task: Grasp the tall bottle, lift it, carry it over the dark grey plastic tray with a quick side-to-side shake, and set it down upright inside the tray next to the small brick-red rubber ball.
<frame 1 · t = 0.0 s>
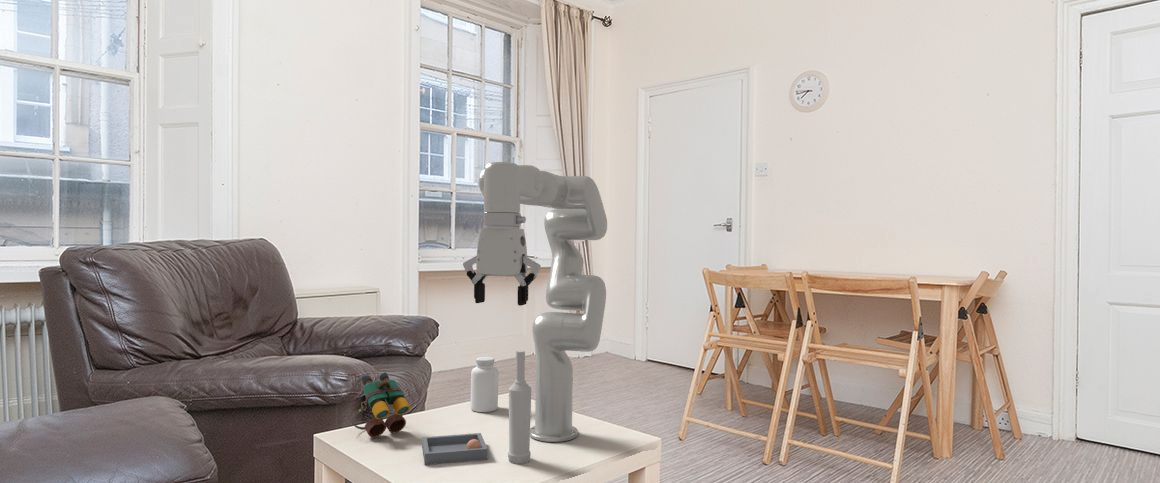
hand: (500, 303, 136), 37 cm above the table, tool pointing down, fingers open, 9 cm apart
bottle: (519, 461, 149), on the table
pill bottle: (484, 409, 191), on the table
ball: (473, 453, 151), point 1 cm above the table, touching tray
tray: (454, 453, 153), on the table
binoculars: (383, 434, 167), on the table
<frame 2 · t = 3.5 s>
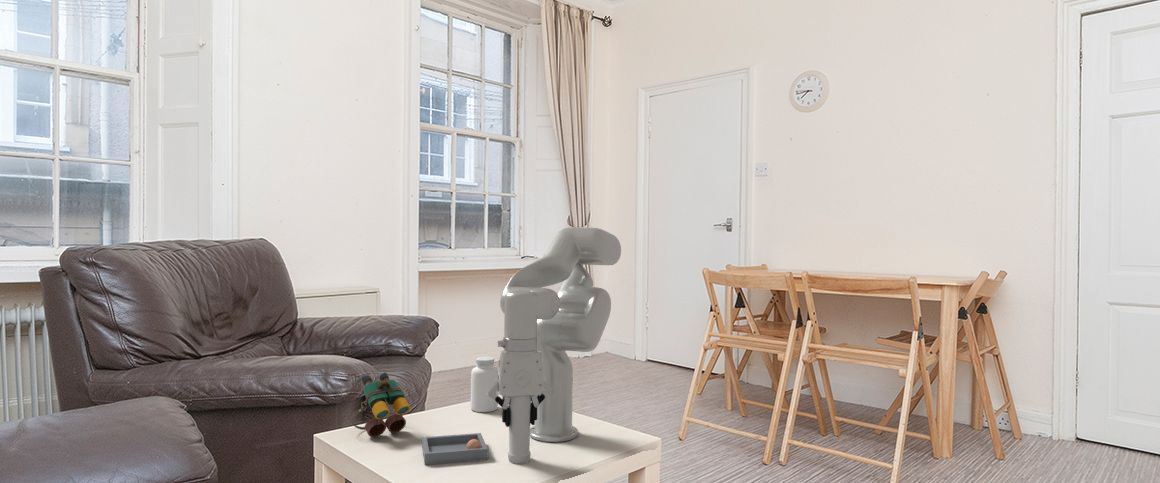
hand: (519, 423, 149), 8 cm above the table, tool pointing down, fingers closed on bottle, 5 cm apart
bottle: (519, 461, 149), on the table, touching gripper
everything else where it was.
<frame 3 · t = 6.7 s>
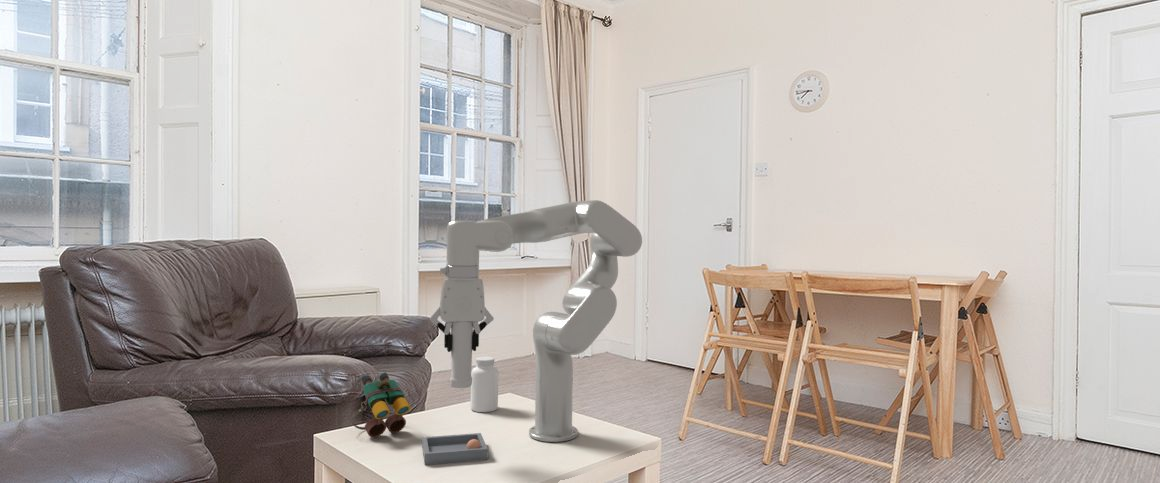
hand: (461, 349, 153), 24 cm above the table, tool pointing down, fingers closed on bottle, 5 cm apart
bottle: (461, 386, 153), point 16 cm above the table, touching gripper
everything else where it was.
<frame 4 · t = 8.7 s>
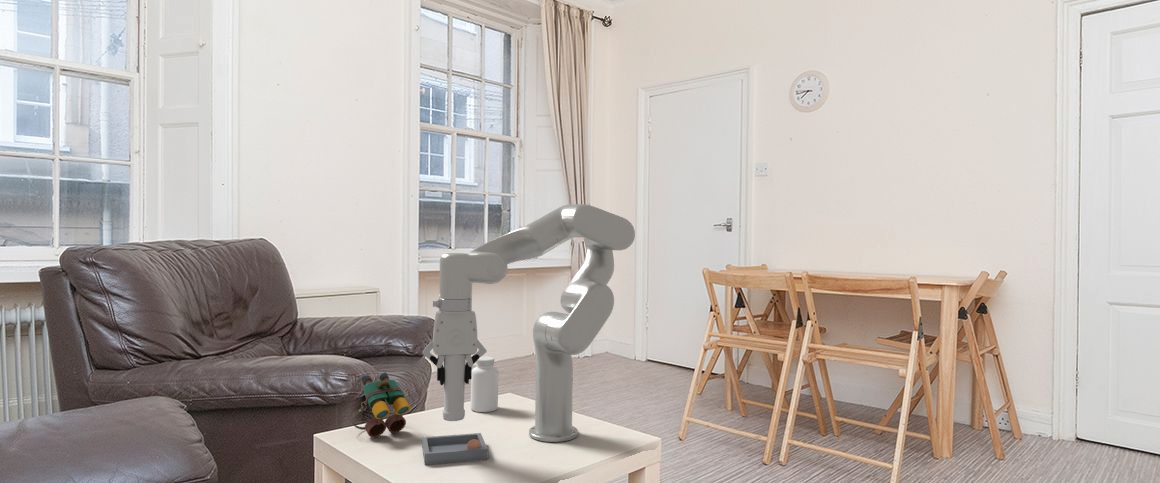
hand: (454, 382, 153), 17 cm above the table, tool pointing down, fingers closed on bottle, 5 cm apart
bottle: (453, 419, 153), point 8 cm above the table, touching gripper
everything else where it was.
when the fingers open (10 cm above the table, at t = 10.3 s): bottle stays where it is, resting on tray.
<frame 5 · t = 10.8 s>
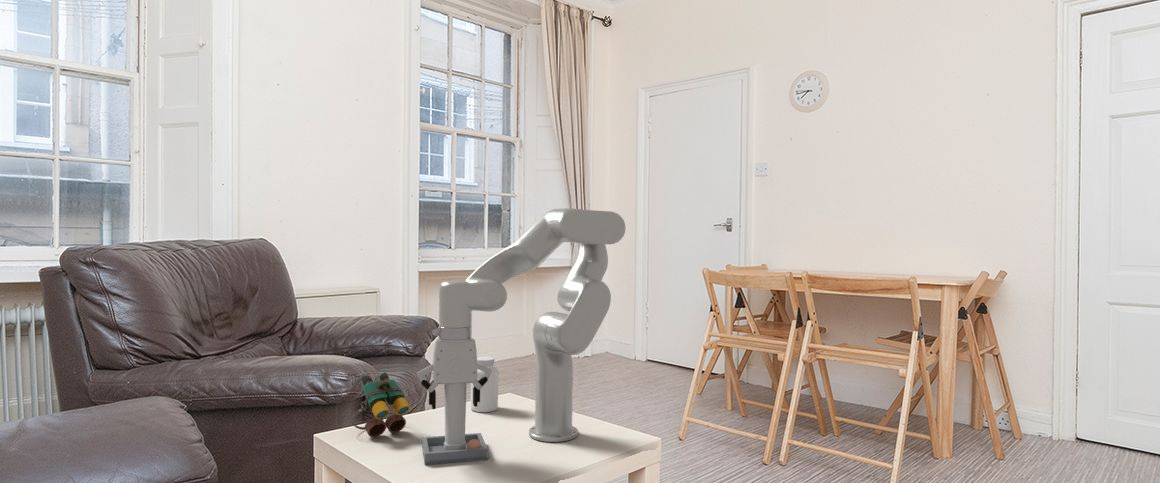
hand: (454, 406, 153), 11 cm above the table, tool pointing down, fingers open, 9 cm apart
bottle: (454, 450, 153), point 1 cm above the table, touching tray
everything else where it was.
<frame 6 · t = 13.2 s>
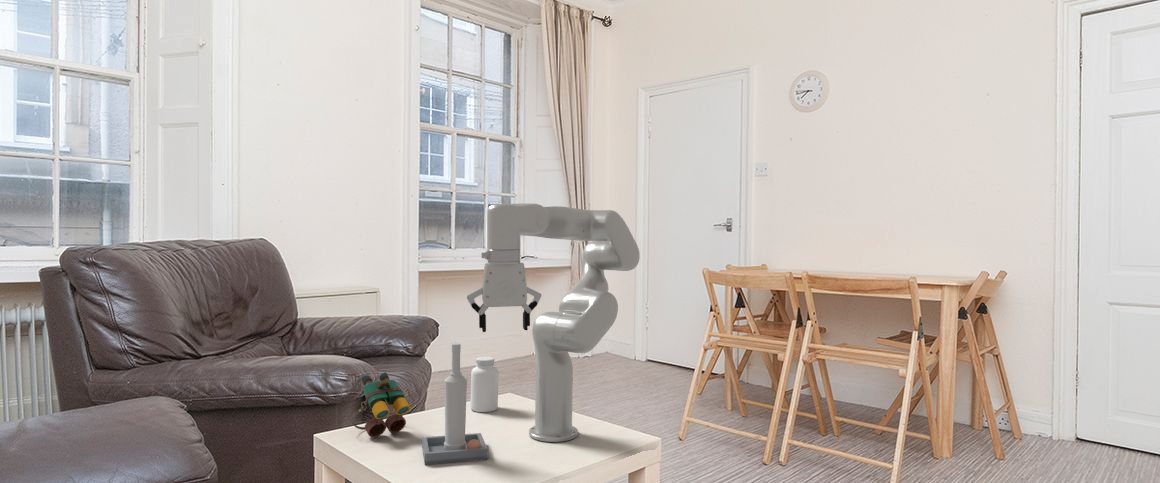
hand: (504, 330, 152), 29 cm above the table, tool pointing down, fingers open, 9 cm apart
nothing on the table moved.
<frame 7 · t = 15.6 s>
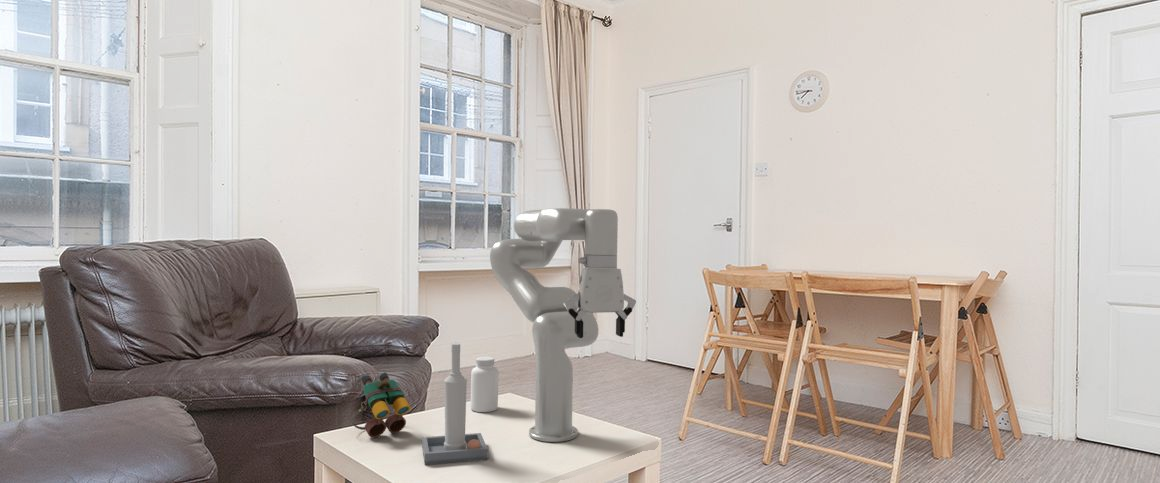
hand: (599, 336, 151), 28 cm above the table, tool pointing down, fingers open, 9 cm apart
nothing on the table moved.
at the end: bottle inside the target area on the tray (0.2 cm from its centre), point 0.6 cm above the tray's base; bottle tilted 0°; the gripper is holding nothing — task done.
